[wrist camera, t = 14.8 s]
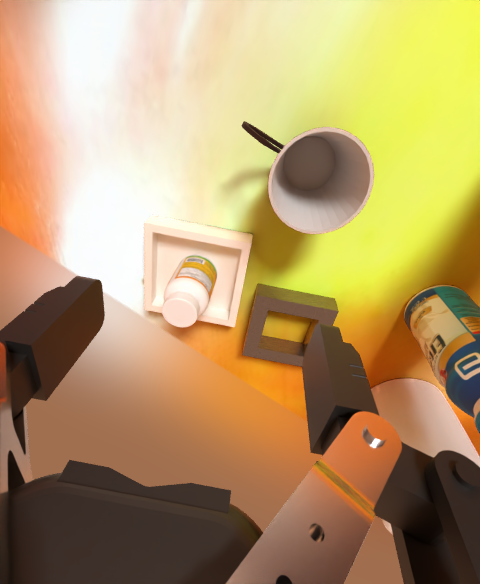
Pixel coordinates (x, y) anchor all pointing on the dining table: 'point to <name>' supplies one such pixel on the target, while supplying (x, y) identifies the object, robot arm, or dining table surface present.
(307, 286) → the dining table surface
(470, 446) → the utensil holder
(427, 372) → the dining table surface
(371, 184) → the coffee mug
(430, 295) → the beverage bottle
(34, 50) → the dining table surface
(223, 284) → the tray
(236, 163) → the dining table surface
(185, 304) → the supplement bottle
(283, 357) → the socket collar
